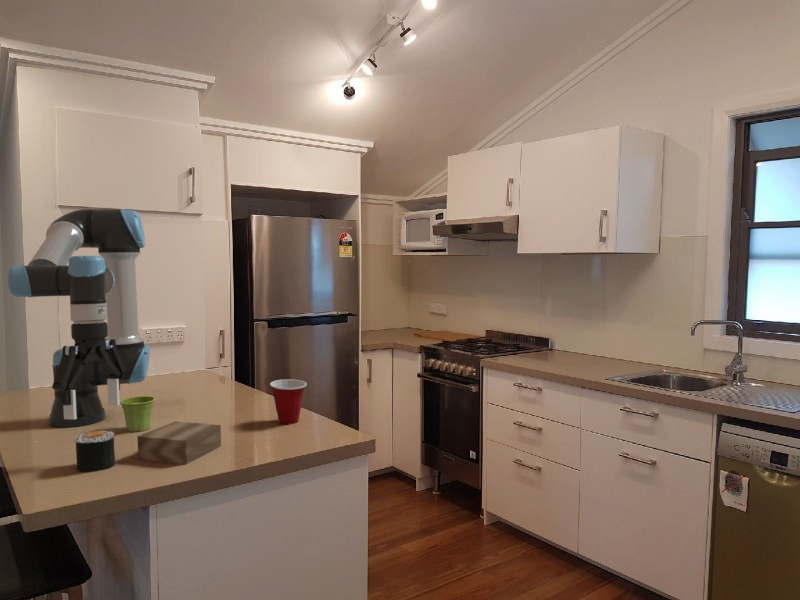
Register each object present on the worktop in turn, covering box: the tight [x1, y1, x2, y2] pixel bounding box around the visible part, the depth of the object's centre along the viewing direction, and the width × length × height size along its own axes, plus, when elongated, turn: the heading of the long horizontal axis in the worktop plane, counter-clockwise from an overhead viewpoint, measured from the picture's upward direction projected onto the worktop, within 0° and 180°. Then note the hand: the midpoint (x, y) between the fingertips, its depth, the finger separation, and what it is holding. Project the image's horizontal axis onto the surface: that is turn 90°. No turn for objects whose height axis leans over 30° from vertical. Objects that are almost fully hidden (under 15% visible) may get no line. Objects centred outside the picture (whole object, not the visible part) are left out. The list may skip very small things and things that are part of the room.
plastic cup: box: [269, 378, 308, 425], centre depth 173 cm, size 11×11×12 cm
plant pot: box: [120, 395, 156, 433], centre depth 168 cm, size 9×9×9 cm
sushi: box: [74, 430, 116, 473], centre depth 137 cm, size 8×8×8 cm
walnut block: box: [137, 420, 222, 465], centre depth 146 cm, size 14×14×6 cm
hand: (93, 411), depth 136 cm, fingers open, 13 cm apart
